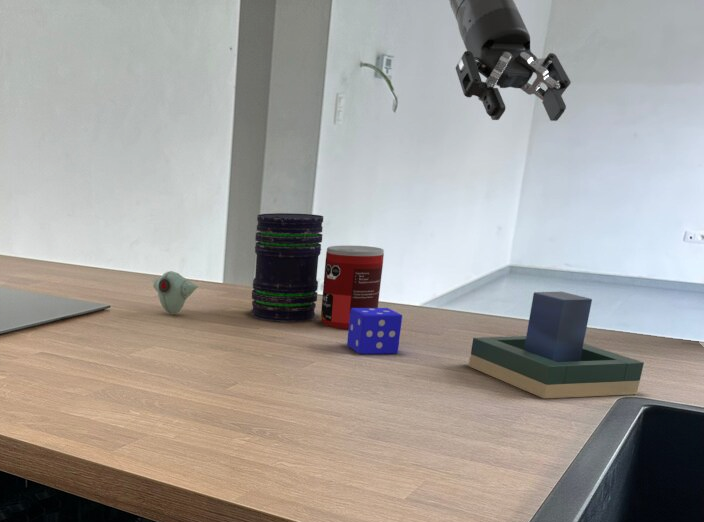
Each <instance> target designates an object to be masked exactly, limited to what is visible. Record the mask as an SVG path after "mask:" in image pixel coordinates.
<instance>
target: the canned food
mask: <svg viewBox="0 0 704 522" xmlns="http://www.w3.org/2000/svg"><path fill="white" fill-rule="evenodd" d="M325 252H326V253H325V260H324V261H325V263H324V274H323V284H322V285H323V286H322V298H321V311H320V319H321V324H323V325H324V326H326V327H329V328H334V329H340V330H341V329H342V330H349V320H350V310H351V308H379V300H380V291H381V284H382V275H383V268H384V267H383V266H384V256H385V255H384V254H385V250H384V249H383V248H382V247H376V246H369V245H368V246H367V245H332V246H331V245H330V246H328V247H326V251H325Z"/></svg>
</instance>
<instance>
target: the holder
mask: <svg viewBox="0 0 704 522" xmlns="http://www.w3.org/2000/svg"><path fill="white" fill-rule="evenodd" d="M525 341H526V335H515V336H514V335H513V336H486V337H485V336H484V337H483V336H482V337H473V338H472V344H471V351H470V357H469V362H468V367H469V368H471V369H474V370H477V371H479V372H481V373H483V374H486V375H488V376H491V377H493V378H495V379H497V380H499V381H502V382H504V383H506V384H508V385H511V386H514V387H516V388H517V389H520V390H522V391H525V392H527V393H530V394H532V395H535V396H537V397H539V398H541V399H544V400H545V399H564V398H565V399H566V398H584V397H585V398H586V397H587V398H588V397H589V398H590V397H608V396H609V397H610V396H628V395H630V396H632V395H637V394H638V391H639V386H640V382H641V377H642V373H643V369H644V363H645V362H643V361H641V360H638V359H635V358H631V357H628V356H625V355H623V354H619V353H615V352H613V351H612V352H611V351H609V350H605V349H602V348H600V347H597V346H593V345H590V344H587V343H584V344H583V349H582V354H581V359H580V361H576V362H555V361H553V360H550V359H547V358H544V357H541V356H539V355H536V354H533V353H530V352H528V351H525V350H524V347H525Z"/></svg>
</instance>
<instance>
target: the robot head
mask: <svg viewBox="0 0 704 522" xmlns="http://www.w3.org/2000/svg"><path fill="white" fill-rule="evenodd" d="M152 286H153V288H154V290H155V291H156V292H157V296H158V300H159V302H160V304H161V306H162V308H163V310H164V311H165V312H166V313H167V314H170V315H172V316H173V315H176V314H178V313H180V312H181V310H182V309H183V307H184V306H185V302H186V300H187V299H188V298H189V297H190V296H191V295H192V294H193V293H194V292H195V291H196V290H197V289H198V287H199V286H198V285H196V284H195V283H193V282H192V281H189V279H188V278H186V277H184V276H183V275H181V274H180V273H179V272H175V271H173V270H169V271H166V272H164V273H163V274H162V275H161V276H160V277H159V278H156V279H153V285H152Z"/></svg>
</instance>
